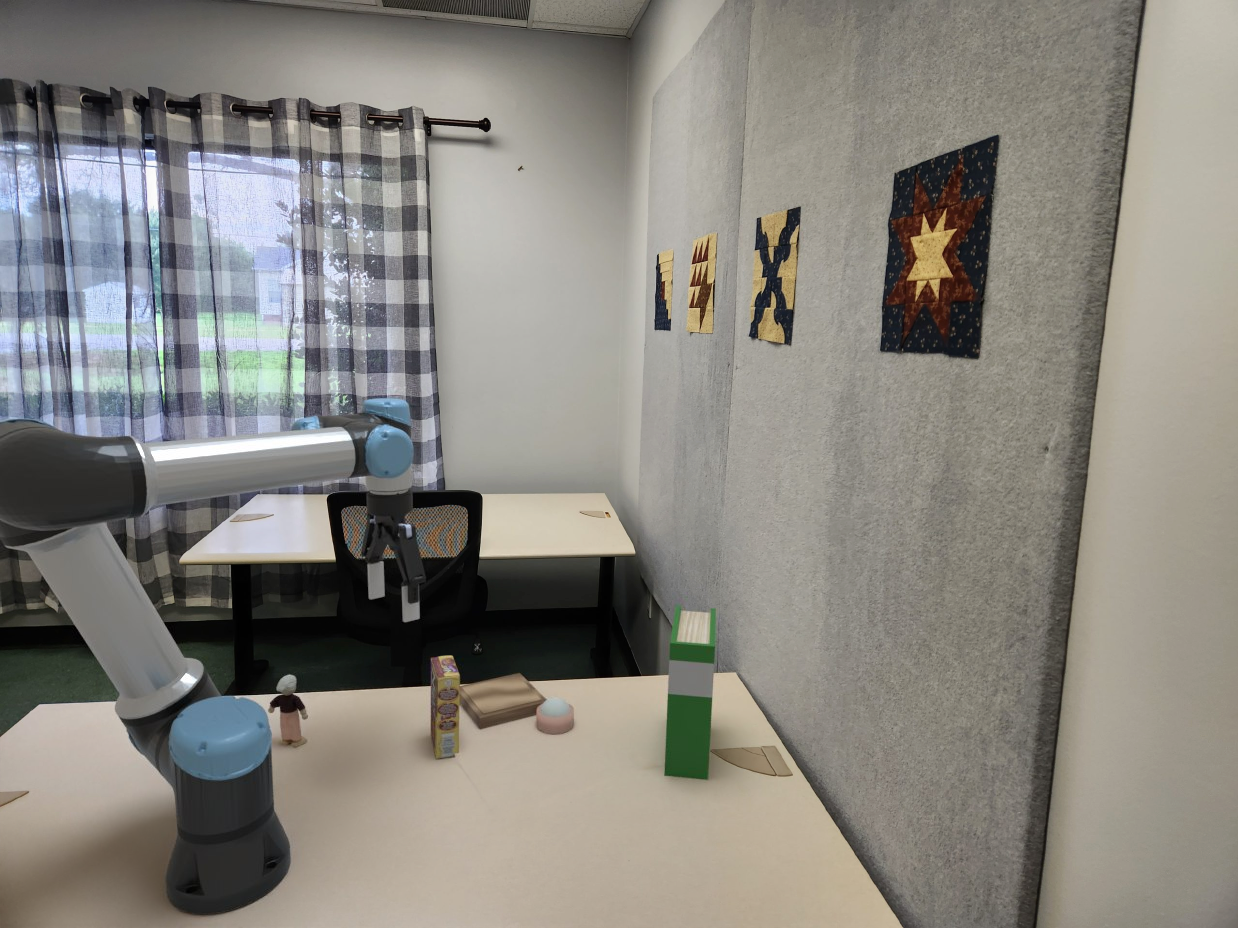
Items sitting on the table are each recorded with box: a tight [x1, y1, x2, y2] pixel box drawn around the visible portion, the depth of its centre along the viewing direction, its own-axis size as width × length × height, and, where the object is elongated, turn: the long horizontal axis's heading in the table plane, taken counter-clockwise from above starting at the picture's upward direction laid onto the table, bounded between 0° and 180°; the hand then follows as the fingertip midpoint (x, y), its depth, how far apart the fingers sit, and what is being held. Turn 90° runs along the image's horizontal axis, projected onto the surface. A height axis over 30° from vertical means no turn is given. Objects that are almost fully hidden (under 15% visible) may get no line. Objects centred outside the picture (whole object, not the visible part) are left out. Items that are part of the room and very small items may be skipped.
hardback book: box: [664, 605, 717, 781], centre depth 137 cm, size 18×7×24 cm, turn 173°
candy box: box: [430, 655, 461, 760], centre depth 137 cm, size 9×4×15 cm, turn 20°
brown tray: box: [459, 672, 548, 730], centre depth 152 cm, size 14×14×3 cm
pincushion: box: [535, 696, 575, 735], centre depth 144 cm, size 7×7×6 cm
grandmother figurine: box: [267, 674, 309, 748], centre depth 137 cm, size 8×4×13 cm, turn 89°
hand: (393, 608), depth 134 cm, fingers open, 13 cm apart
